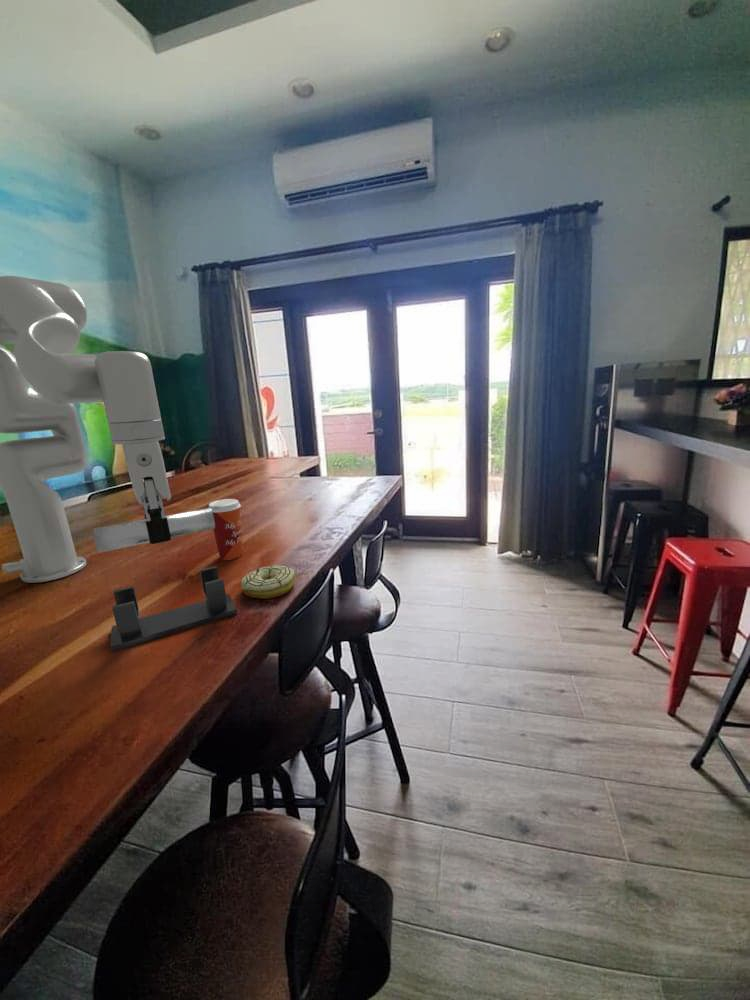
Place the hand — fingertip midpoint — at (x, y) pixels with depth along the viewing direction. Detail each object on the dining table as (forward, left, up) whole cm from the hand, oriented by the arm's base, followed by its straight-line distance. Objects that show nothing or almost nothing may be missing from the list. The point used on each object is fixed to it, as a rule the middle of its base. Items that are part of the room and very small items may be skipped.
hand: (159, 536), depth 71 cm
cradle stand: (0, -2, -16) cm, 16 cm away
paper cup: (+15, +24, -16) cm, 33 cm away
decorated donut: (+18, +1, -16) cm, 24 cm away
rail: (0, 0, +2) cm, 2 cm away
